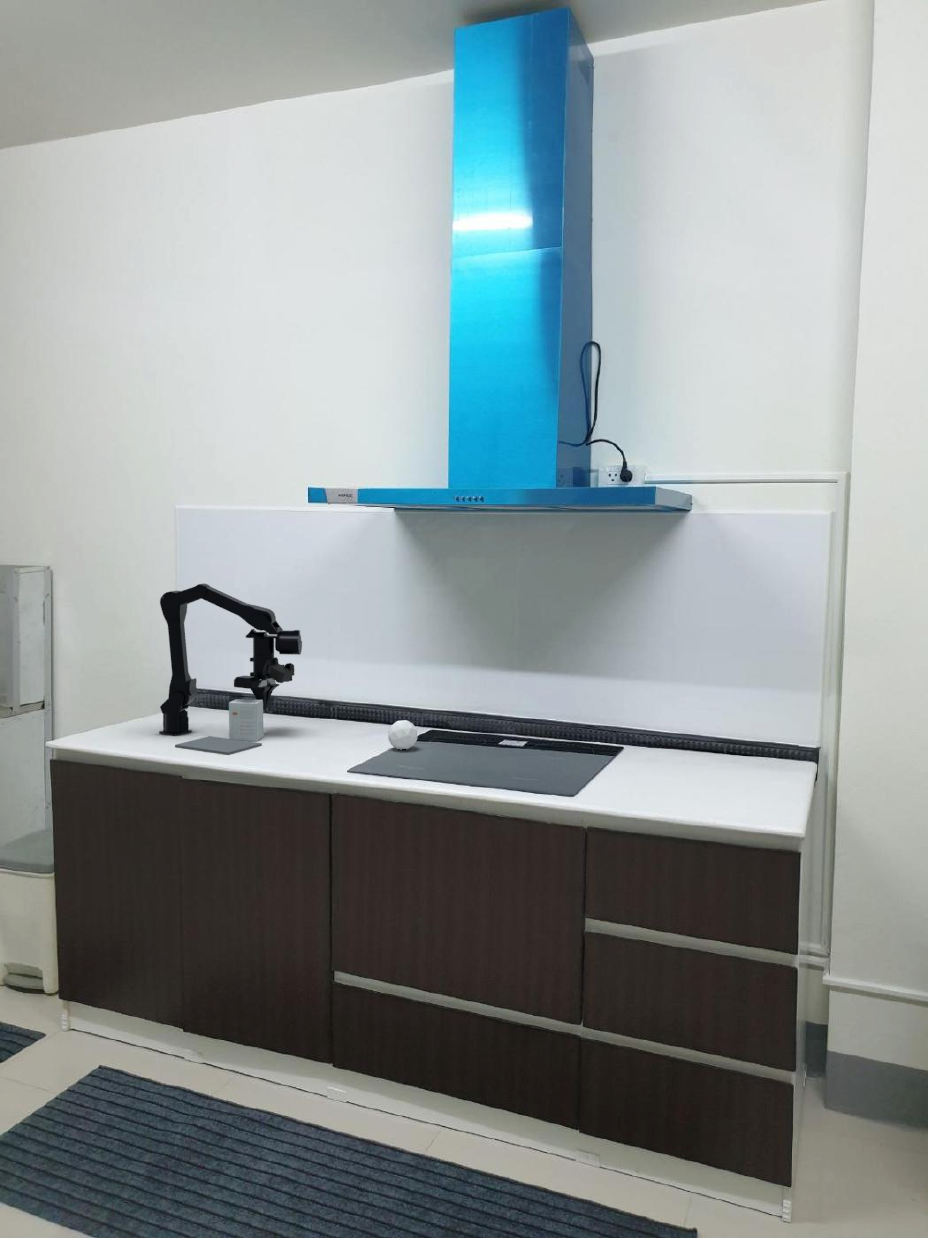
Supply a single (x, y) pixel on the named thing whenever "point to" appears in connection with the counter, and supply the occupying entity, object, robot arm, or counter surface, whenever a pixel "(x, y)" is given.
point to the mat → (218, 745)
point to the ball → (402, 735)
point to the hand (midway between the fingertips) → (263, 709)
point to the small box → (246, 720)
